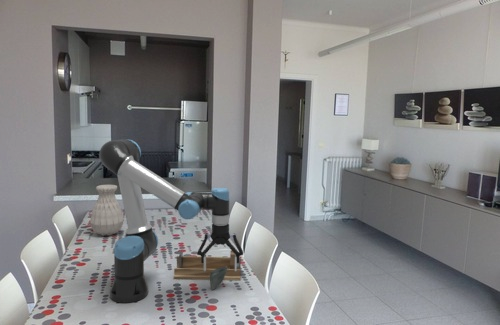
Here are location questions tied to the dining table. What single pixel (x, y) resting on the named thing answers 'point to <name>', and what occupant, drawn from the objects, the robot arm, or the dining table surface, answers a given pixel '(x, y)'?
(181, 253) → the bookend
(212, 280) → the stone
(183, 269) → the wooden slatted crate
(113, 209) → the vase
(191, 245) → the dining table surface
